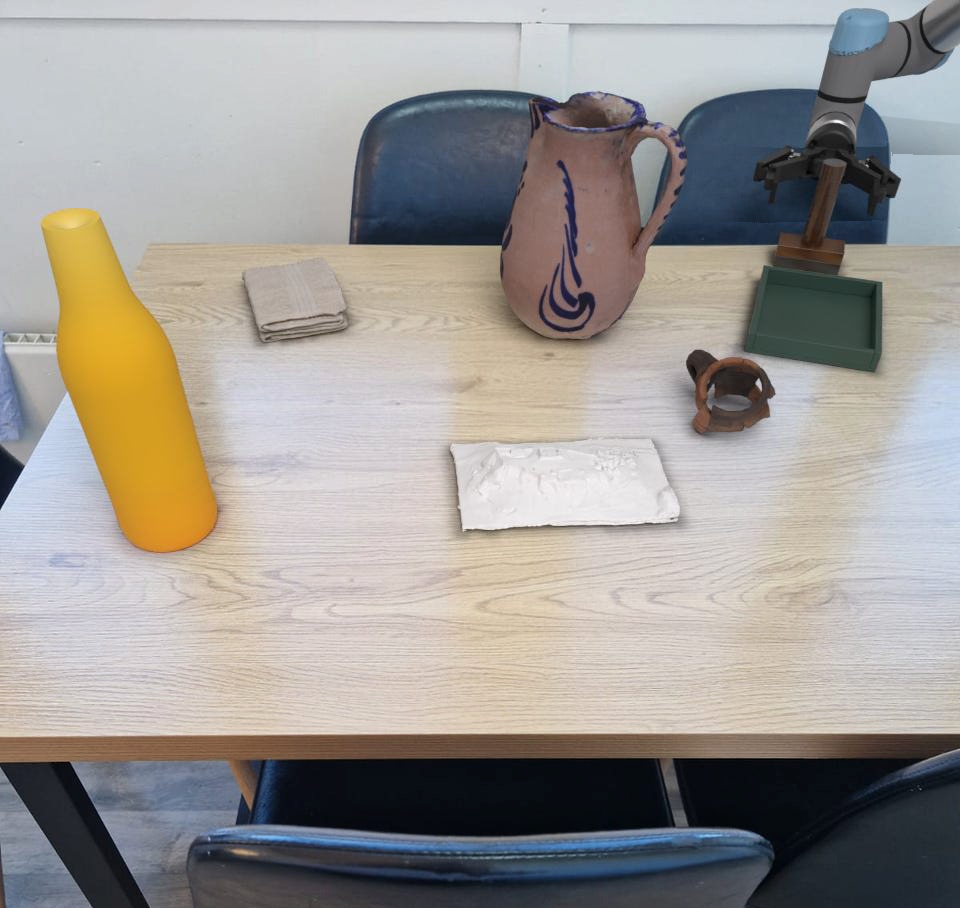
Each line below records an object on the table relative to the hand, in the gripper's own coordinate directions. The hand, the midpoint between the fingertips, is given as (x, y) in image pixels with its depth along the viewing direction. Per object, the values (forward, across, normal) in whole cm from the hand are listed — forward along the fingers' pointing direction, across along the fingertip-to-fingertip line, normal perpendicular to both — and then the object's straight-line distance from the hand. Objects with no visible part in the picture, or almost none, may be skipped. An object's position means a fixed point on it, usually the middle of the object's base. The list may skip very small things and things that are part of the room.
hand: (822, 199), depth 120 cm
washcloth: (+38, +64, -8) cm, 75 cm away
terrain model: (+64, +21, -8) cm, 68 cm away
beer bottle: (+82, +56, -8) cm, 100 cm away
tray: (+21, -2, -8) cm, 23 cm away
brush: (+3, 0, -8) cm, 8 cm away
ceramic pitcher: (+31, +27, -8) cm, 42 cm away
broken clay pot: (+46, +7, -8) cm, 47 cm away
